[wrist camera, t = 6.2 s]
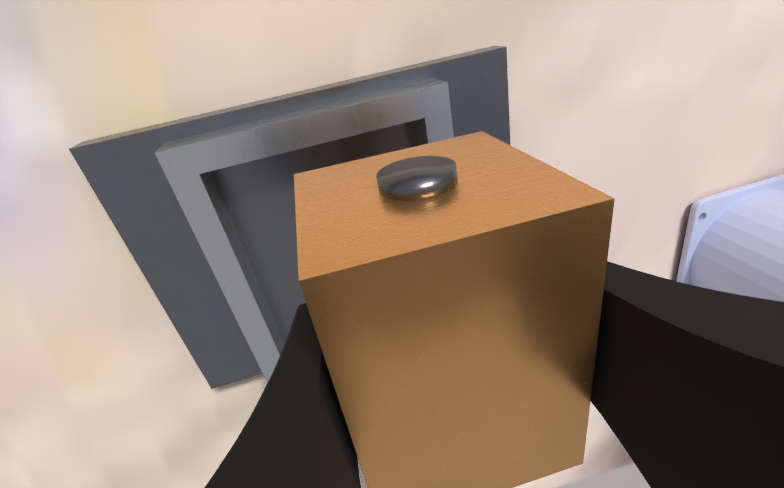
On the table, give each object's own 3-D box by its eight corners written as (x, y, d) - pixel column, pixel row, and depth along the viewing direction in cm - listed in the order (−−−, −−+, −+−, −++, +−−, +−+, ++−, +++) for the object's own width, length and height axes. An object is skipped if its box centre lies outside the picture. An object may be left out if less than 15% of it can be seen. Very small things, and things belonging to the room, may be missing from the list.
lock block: (492, 331, 14) (582, 463, 10) (352, 372, 13) (383, 532, 9) (480, 119, 11) (616, 180, 6) (290, 162, 10) (292, 263, 6)
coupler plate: (507, 284, 22) (531, 311, 20) (214, 373, 20) (206, 413, 18) (494, 46, 16) (526, 47, 14) (81, 142, 15) (46, 161, 12)
